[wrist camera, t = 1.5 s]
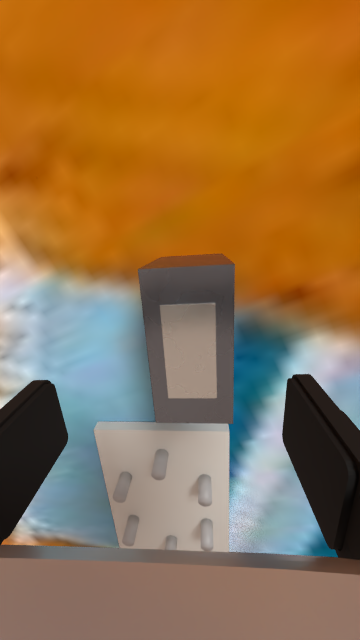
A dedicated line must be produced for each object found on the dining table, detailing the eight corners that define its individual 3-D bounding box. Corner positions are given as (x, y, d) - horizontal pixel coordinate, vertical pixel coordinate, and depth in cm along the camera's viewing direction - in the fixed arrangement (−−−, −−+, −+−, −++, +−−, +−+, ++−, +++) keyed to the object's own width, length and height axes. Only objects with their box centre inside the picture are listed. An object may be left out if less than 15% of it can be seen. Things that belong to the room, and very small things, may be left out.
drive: (221, 253, 20) (234, 264, 12) (222, 362, 23) (233, 424, 15) (161, 257, 20) (137, 269, 13) (170, 362, 23) (155, 423, 16)
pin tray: (227, 422, 25) (232, 451, 22) (227, 547, 32) (231, 584, 28) (98, 421, 26) (82, 448, 23) (123, 540, 33) (114, 575, 30)
